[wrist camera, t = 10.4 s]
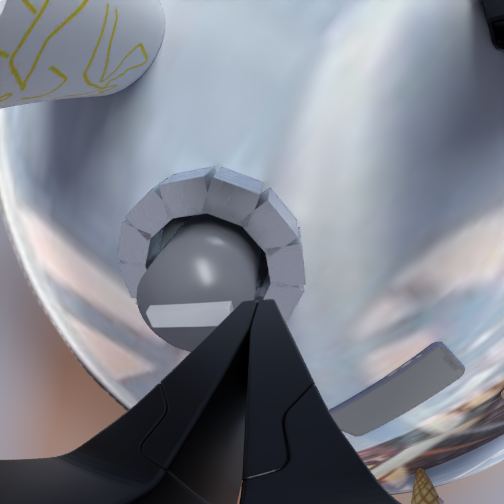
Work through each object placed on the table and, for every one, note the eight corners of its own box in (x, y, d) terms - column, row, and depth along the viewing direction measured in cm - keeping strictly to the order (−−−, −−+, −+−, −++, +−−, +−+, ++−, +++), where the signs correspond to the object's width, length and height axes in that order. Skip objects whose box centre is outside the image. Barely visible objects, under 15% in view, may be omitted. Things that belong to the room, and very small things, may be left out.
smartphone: (315, 420, 28) (440, 342, 21) (315, 413, 28) (437, 335, 22) (357, 438, 29) (468, 372, 23) (356, 431, 30) (465, 365, 24)
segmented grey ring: (289, 155, 17) (290, 163, 14) (308, 316, 22) (310, 339, 19) (115, 188, 19) (95, 199, 16) (163, 324, 24) (153, 345, 21)
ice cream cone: (430, 458, 34) (442, 532, 21) (443, 462, 35) (455, 528, 22) (397, 474, 37) (405, 545, 24) (413, 477, 38) (421, 541, 25)
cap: (252, 206, 18) (235, 259, 12) (266, 289, 21) (258, 359, 15) (162, 219, 19) (115, 271, 14) (186, 295, 22) (155, 359, 16)
